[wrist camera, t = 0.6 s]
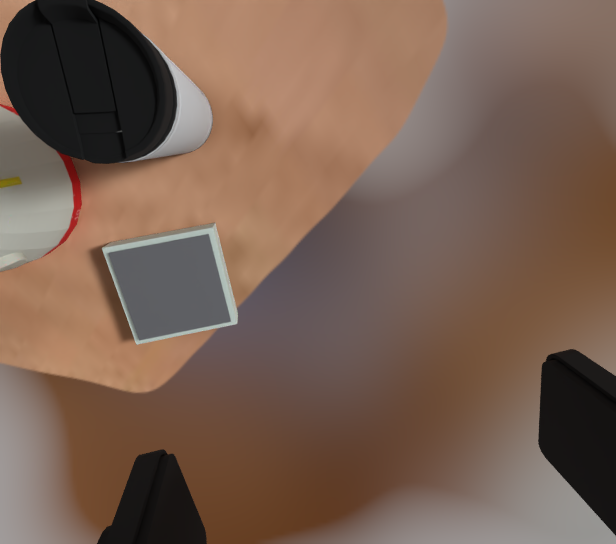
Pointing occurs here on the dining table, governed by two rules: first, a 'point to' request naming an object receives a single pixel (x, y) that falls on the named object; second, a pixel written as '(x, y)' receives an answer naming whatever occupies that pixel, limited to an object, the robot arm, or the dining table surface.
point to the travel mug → (99, 85)
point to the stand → (172, 282)
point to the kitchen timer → (33, 194)
